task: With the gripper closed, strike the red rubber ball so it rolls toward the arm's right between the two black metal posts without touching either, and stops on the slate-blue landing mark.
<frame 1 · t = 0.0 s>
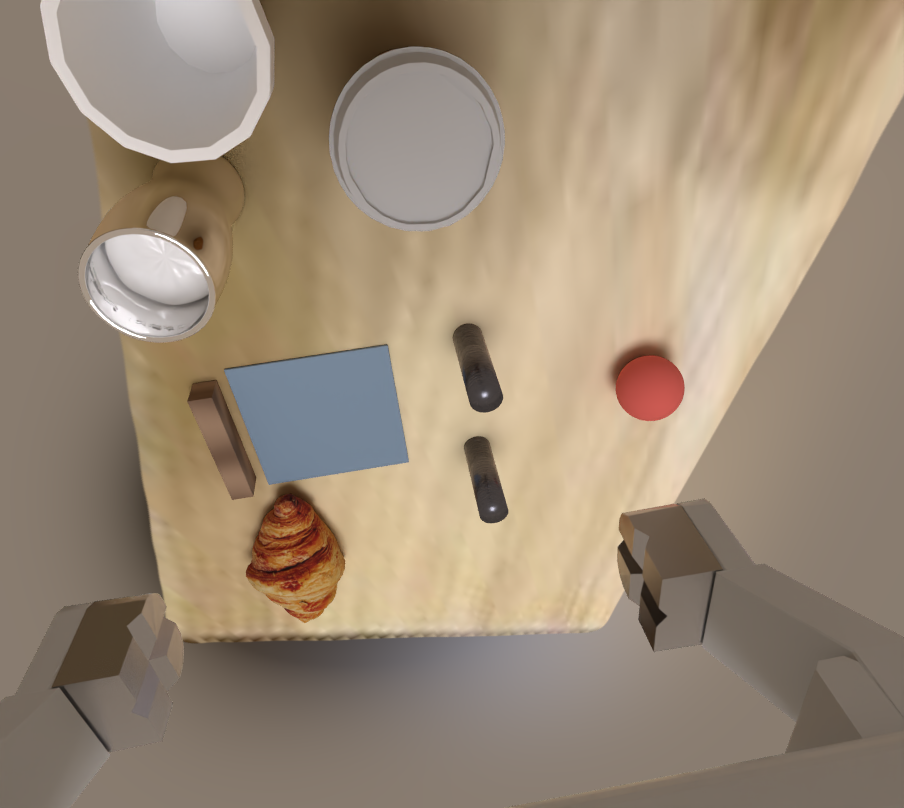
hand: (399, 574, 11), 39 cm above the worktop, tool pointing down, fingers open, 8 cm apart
disposable coffee cup: (403, 100, 42), on the worktop
post 2: (467, 336, 54), on the worktop
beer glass: (200, 188, 44), on the worktop
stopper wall: (226, 433, 57), on the worktop
foam cup: (210, 16, 38), on the worktop
croissant: (297, 546, 69), on the worktop
post 1: (476, 446, 62), on the worktop
ball: (649, 388, 57), on the worktop
landing mark: (324, 418, 58), on the worktop
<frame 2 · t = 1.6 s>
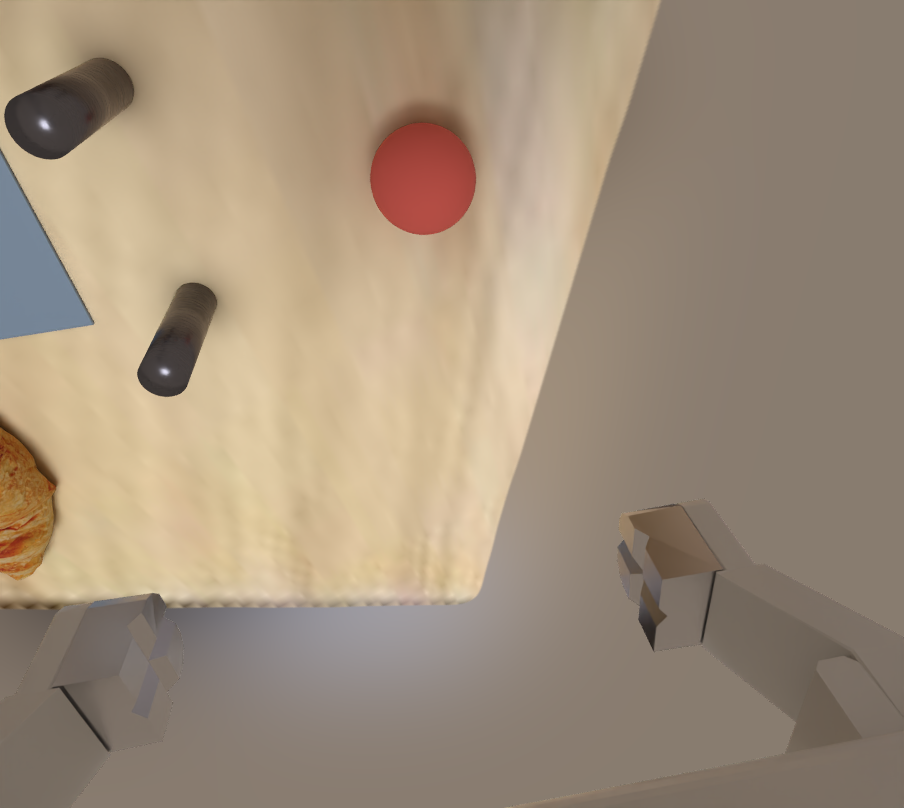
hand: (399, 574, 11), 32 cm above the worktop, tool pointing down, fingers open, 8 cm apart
post 2: (107, 85, 33), on the worktop
post 1: (196, 300, 41), on the worktop
ball: (423, 180, 35), on the worktop
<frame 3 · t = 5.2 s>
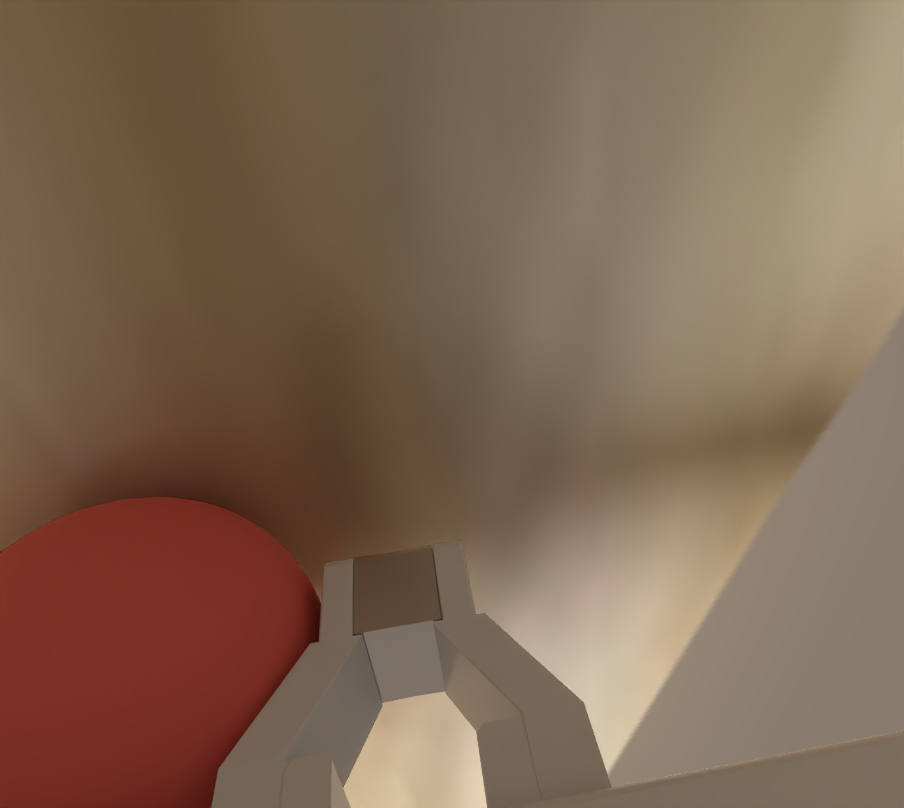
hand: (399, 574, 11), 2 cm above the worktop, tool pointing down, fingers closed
ball: (143, 684, 10), on the worktop, touching gripper
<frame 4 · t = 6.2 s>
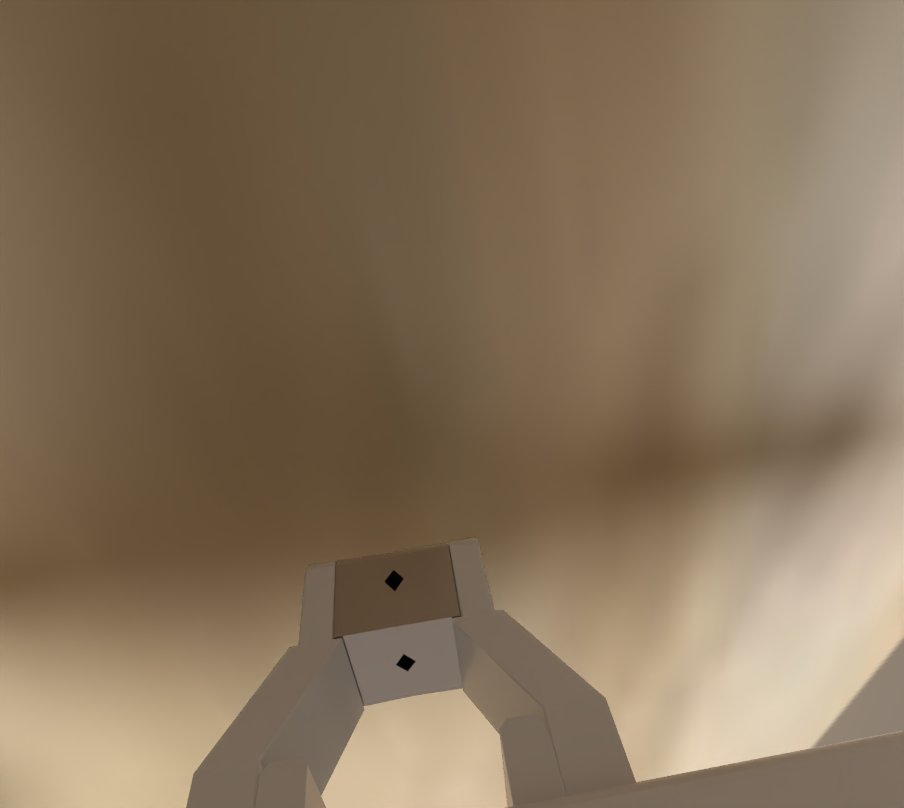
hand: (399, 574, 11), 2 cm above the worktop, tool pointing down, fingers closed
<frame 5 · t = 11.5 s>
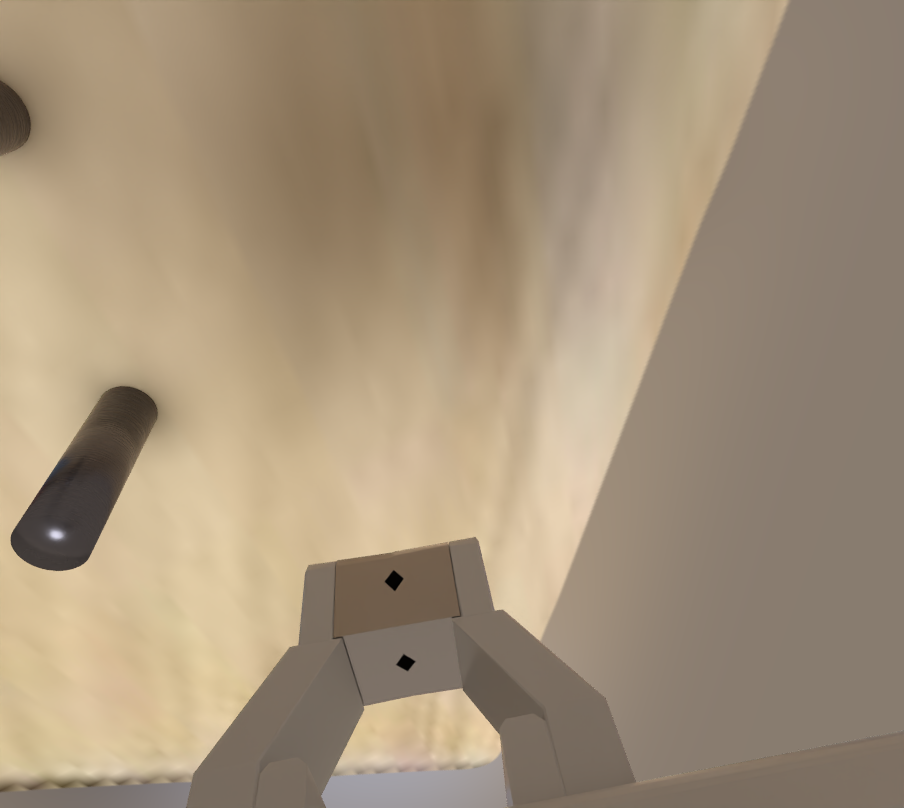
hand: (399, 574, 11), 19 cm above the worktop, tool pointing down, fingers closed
post 1: (128, 410, 30), on the worktop
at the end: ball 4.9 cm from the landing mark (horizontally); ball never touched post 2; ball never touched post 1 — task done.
